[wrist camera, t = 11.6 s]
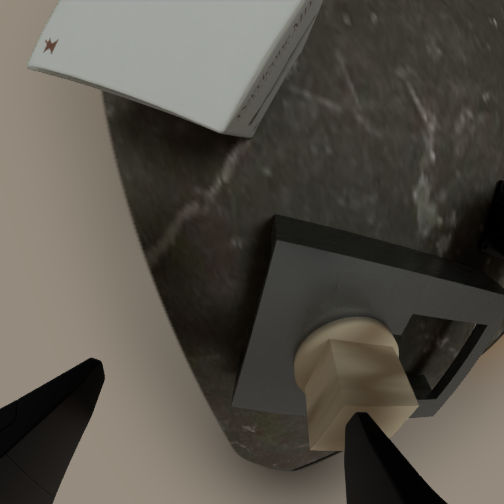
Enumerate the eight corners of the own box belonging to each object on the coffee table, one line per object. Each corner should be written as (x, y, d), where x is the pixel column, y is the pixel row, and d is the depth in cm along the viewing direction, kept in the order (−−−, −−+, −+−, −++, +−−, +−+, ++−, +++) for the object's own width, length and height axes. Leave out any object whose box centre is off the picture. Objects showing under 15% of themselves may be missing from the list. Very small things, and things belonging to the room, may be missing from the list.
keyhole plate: (483, 270, 20) (513, 297, 15) (418, 382, 25) (433, 416, 21) (275, 214, 19) (276, 239, 15) (237, 363, 25) (231, 406, 20)
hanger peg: (389, 290, 20) (448, 389, 11) (356, 357, 23) (384, 457, 14) (306, 272, 20) (329, 385, 11) (280, 346, 23) (282, 457, 13)
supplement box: (252, 141, 18) (218, 149, 6) (155, 97, 17) (16, 70, 5) (306, 50, 15) (357, -62, 3) (207, 9, 14) (136, -102, 2)
